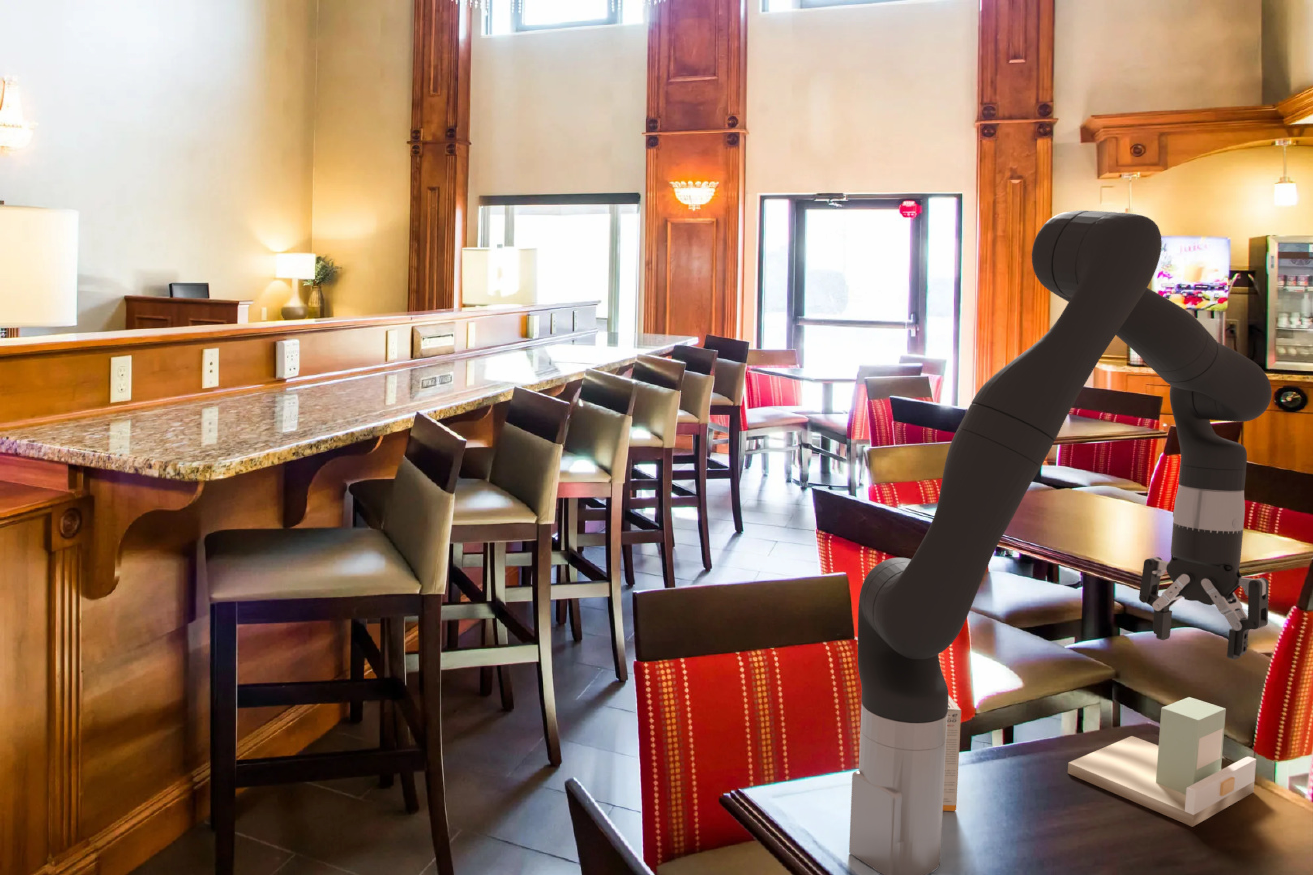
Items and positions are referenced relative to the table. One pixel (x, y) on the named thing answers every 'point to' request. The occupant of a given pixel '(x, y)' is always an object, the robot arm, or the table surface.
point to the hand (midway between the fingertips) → (1197, 647)
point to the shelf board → (1134, 778)
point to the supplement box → (951, 756)
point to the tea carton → (1189, 743)
